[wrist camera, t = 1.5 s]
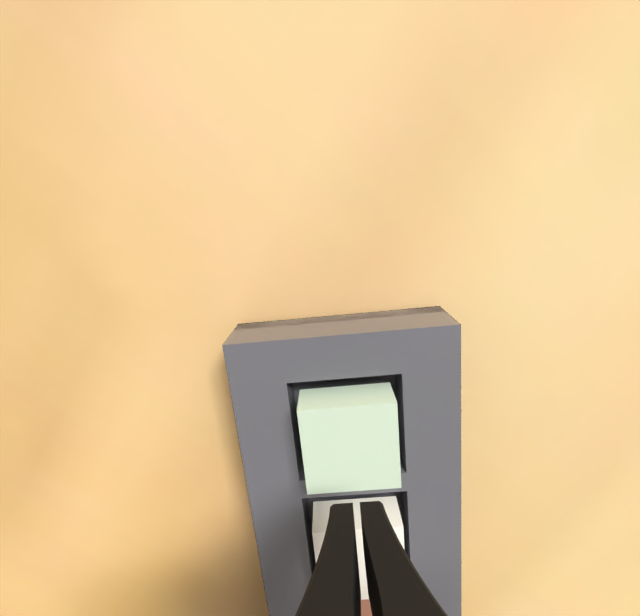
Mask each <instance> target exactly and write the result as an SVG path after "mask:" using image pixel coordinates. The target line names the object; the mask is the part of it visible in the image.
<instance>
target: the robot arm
mask: <svg viewBox="0 0 640 616" xmlns="http://www.w3.org/2000/svg"><path fill="white" fill-rule="evenodd" d="M360 513H361V525H362V536H363V548H364V559H365V569H366V578H367V588H368V595H369V601H370V606H371V611H372V616H447V614H446V613H445V612H444V610H443V609H442V608H441V606H440V605H439V603H438V602H437V601H436V599H435V598H434V596H433V595H432V593H431V592H430V590H429V589H428V587H427V586H426V584H425V583H424V581H423V580H422V578H421V577H420V575H419V573H418V572H417V570H416V569H415V567H414V565H413V564H412V562H411V560H410V559H409V557H408V555H407V553H406V552H405V550H404V548H403V546H402V545H401V543H400V541H399V539H398V537H397V535H396V533H395V531H394V529H393V527H392V525H391V523H390V521H389V518H388V516H387V514H386V511H385V509H384V505H383V503H381V502H380V501H369V502H360ZM295 616H361V589H360V578H359V567H358V556H357V545H356V533H355V522H354V511H353V503H340V504H333V505H332V506H331V507H330V512H329V519H328V524H327V528H326V532H325V536H324V540H323V543H322V547H321V550H320V553H319V556H318V559H317V562H316V565H315V568H314V571H313V574H312V576H311V579H310V581H309V584H308V586H307V589H306V591H305V594H304V597H303V599H302V601H301V603H300V606H299V608H298V610H297V613H296V615H295Z"/></svg>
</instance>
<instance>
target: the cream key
mask: <svg viewBox="0 0 640 616" xmlns="http://www.w3.org/2000/svg"><path fill="white" fill-rule="evenodd" d="M369 501H380V502H381V503H383V505H384V509H385V511H386V514H387V516H388V518H389V521H390V523H391V525H392V527H393V529H394V531H395V533H396V535H397V537H398V539H399V541H400V543H401V545H402V546H403V548H404V528H403V523H402V519H401V515H400V510H399V506H398V502H397V498H396V496H388V497H374V498H359V499H345V500H331V501H316V502H313V522H312V536H313V544H314V552H315V560H316V562H317V559H318V556H319V553H320V550H321V547H322V543H323V540H324V536H325V532H326V528H327V524H328V519H329V512H330V507H331V506H332V505H333V504H340V503H353V511H354V522H355V533H356V545H357V556H358V567H359V578H360V589H361V600H365V599H369V595H368V588H367V578H366V569H365V559H364V548H363V536H362V525H361V513H360V502H369ZM404 550H405V548H404Z"/></svg>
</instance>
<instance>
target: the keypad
mask: <svg viewBox="0 0 640 616" xmlns="http://www.w3.org/2000/svg"><path fill="white" fill-rule="evenodd" d="M222 346H223V351H224V357H225V363H226V369H227V374H228V380H229V386H230V392H231V397H232V403H233V409H234V415H235V420H236V426H237V432H238V438H239V444H240V449H241V455H242V461H243V467H244V472H245V478H246V484H247V490H248V495H249V501H250V507H251V513H252V518H253V524H254V530H255V536H256V541H257V547H258V553H259V559H260V564H261V570H262V576H263V582H264V588H265V593H266V599H267V605H268V611H269V616H295V615H296V613H297V610H298V608H299V606H300V603H301V601H302V599H303V597H304V594H305V591H306V589H307V586H308V584H309V581H310V579H311V576H312V574H313V571H314V568H315V565H316V560H315V552H314V544H313V536H312V522H313V502H316V501H331V500H345V499H359V498H374V497H388V496H396V498H397V502H398V506H399V510H400V515H401V519H402V523H403V528H404V548H405V552H406V553H407V555H408V557H409V559H410V560H411V562H412V564H413V565H414V567H415V569H416V570H417V572H418V573H419V575H420V577H421V578H422V580H423V581H424V583H425V584H426V586H427V587H428V589H429V590H430V592H431V593H432V595H433V596H434V598H435V599H436V601H437V602H438V603H439V605H440V606H441V608H442V609H443V610H444V612H445V613H446V614H447V616H461V324H460V323H459V322H457V321H456V320H455V319H454V318H453V317H452V316H450V315H449V314H448V313H447V312H446V311H445V310H443V309H442V308H441V307H440V306H435V307H424V308H413V309H402V310H391V311H379V312H368V313H357V314H346V315H334V316H323V317H312V318H301V319H290V320H278V321H267V322H256V323H245V324H238V325H237V327H236V328H235V329H234V331H233V332H232V333H231V334H230V336H229V337H228V338H227V340H226V341H225V342H224V344H223V345H222ZM387 382H390V384H391V387H392V390H393V392H394V395H395V398H396V401H397V407H398V427H399V447H400V467H401V488H393V489H379V490H365V491H351V492H336V493H322V494H308V495H307V489H306V481H305V473H304V465H303V457H302V449H301V441H300V433H299V425H298V417H297V405H298V398H299V391H300V390H301V389H314V388H326V387H338V386H351V385H363V384H375V383H387Z"/></svg>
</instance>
